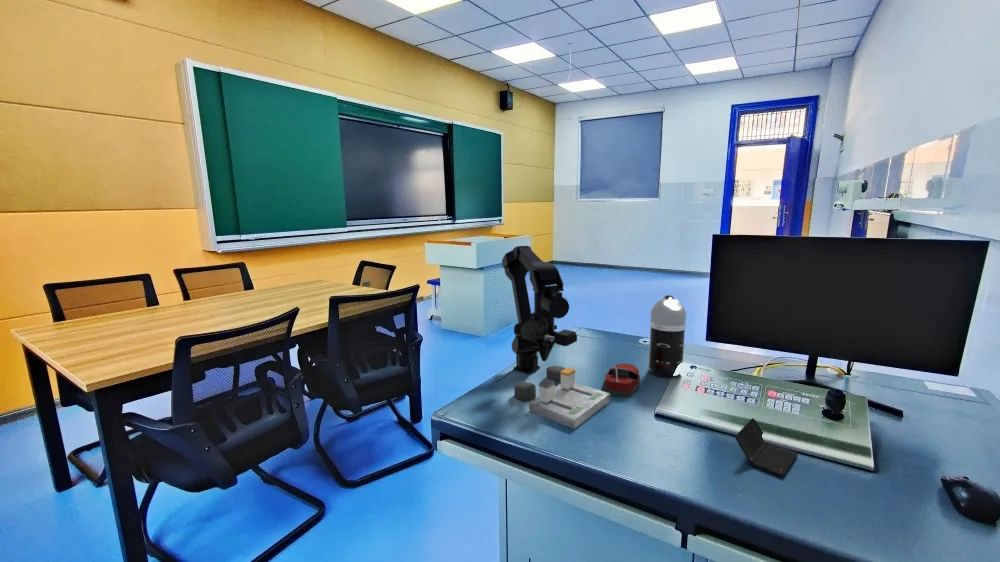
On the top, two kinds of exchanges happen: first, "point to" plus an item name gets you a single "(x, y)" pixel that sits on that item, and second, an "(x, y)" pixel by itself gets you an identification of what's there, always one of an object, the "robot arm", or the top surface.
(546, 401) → the switch
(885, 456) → the top surface
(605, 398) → the panel
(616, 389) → the bumper car
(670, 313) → the spray bottle
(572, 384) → the switch
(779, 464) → the handheld gaming console
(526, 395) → the coil
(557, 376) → the coil
